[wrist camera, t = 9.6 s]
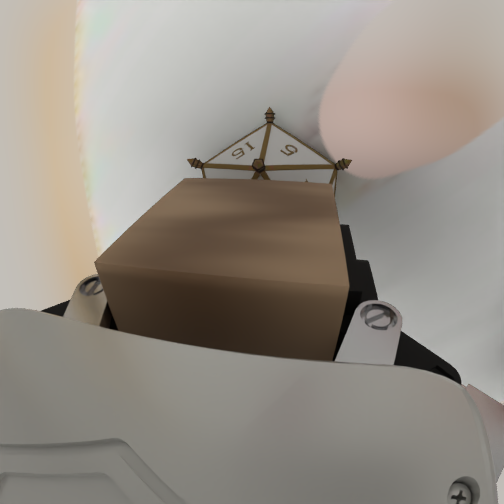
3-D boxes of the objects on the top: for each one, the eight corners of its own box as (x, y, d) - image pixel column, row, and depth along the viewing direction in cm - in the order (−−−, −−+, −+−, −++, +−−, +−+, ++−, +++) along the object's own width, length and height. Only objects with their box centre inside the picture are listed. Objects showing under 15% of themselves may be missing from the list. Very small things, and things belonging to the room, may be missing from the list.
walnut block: (332, 184, 11) (349, 285, 6) (318, 303, 13) (313, 423, 8) (184, 178, 11) (94, 262, 6) (199, 292, 14) (148, 397, 9)
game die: (307, 165, 23) (390, 254, 17) (215, 224, 24) (271, 333, 18) (266, 68, 16) (383, 140, 10) (146, 144, 17) (187, 267, 11)
